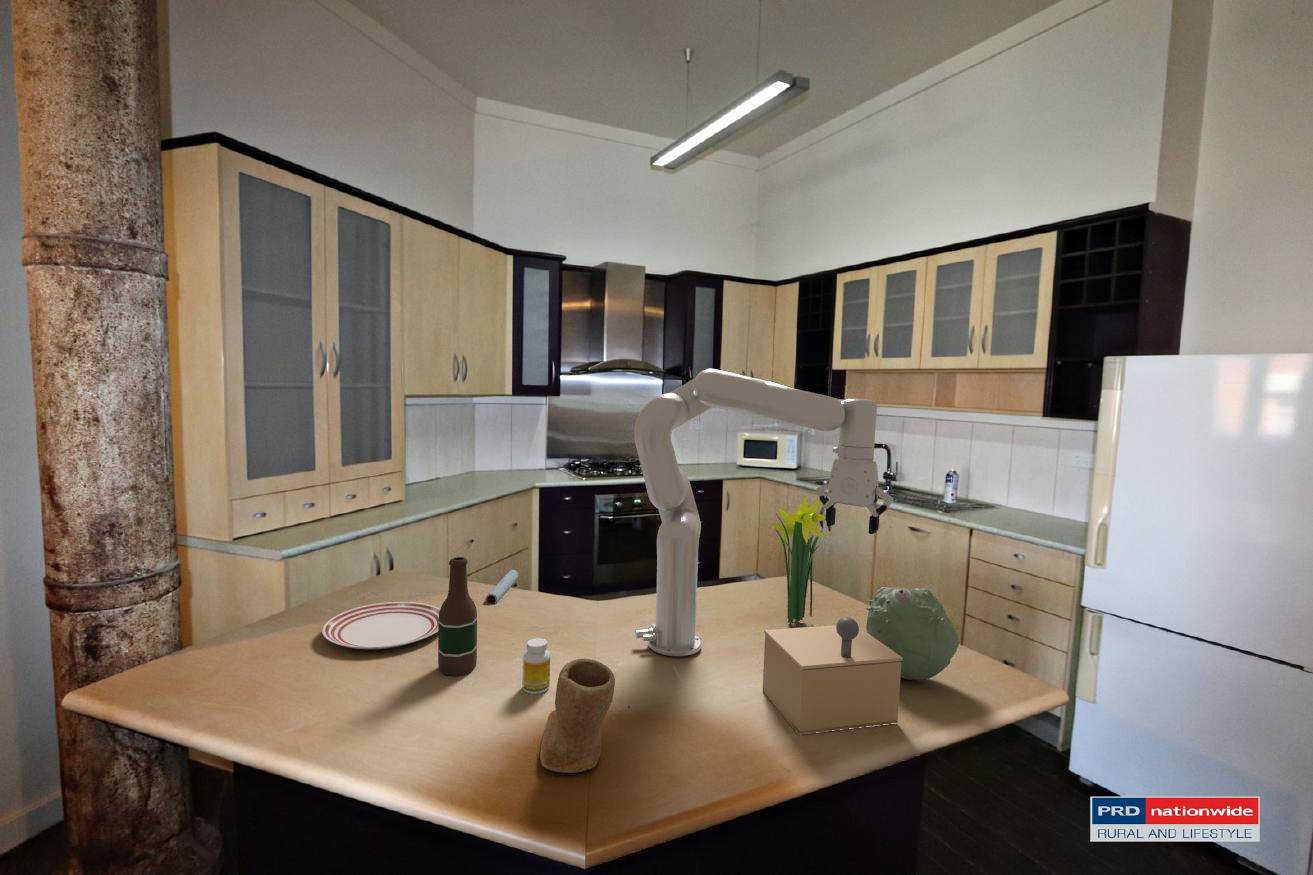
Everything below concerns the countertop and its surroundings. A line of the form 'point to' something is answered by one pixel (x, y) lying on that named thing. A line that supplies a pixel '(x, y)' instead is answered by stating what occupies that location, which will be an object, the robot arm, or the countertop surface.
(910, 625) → the green lumpy rounded blob
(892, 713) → the carton
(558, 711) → the brown boot
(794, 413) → the robot arm
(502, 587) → the aluminum foil
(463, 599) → the beer bottle
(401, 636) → the dinner plate
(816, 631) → the lid
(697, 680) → the countertop surface
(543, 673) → the supplement bottle
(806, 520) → the daffodil flowers
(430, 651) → the countertop surface
